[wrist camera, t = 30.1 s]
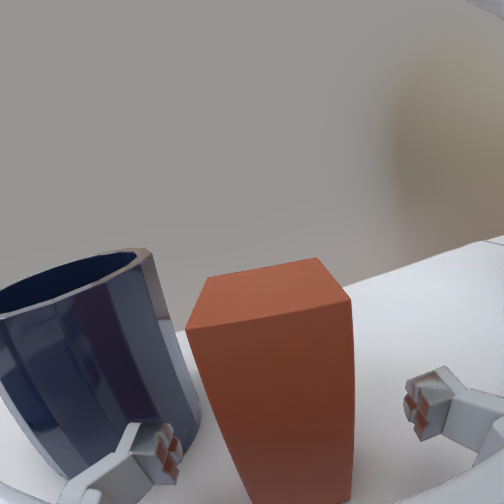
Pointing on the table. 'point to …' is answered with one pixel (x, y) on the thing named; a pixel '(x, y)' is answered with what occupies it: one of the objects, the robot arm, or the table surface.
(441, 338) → the table surface
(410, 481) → the table surface
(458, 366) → the table surface
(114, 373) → the canister
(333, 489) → the block
